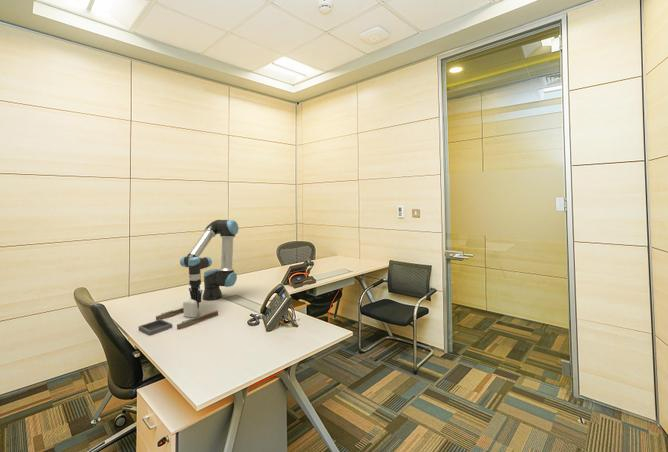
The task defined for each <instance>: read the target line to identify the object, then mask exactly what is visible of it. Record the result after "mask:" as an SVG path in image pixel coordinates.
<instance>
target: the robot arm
mask: <svg viewBox="0 0 668 452" xmlns="http://www.w3.org/2000/svg"><path fill="white" fill-rule="evenodd" d="M238 232H239V225H238V222H237V221H235V220H233V219H216V220H215V219H214V221H212V222H210V223H209V224H208V225H206V227H205V228H204V230H203V233H202V235H201V236H200V238H199V239H198V240H197V242H196V243H195V244H194V246H193V247H192V249H191V250H190V251H189V252H188V253H187V255H186V256H182V257H181V258H180V260H179V264H180V266H181V267H184V268H188V277H189V279H188V281H189V282H188V283H189V286H190V287H189V288H188V291H189V295H190V299H193V300H195V301H197V305H198V313H199V312H200V303H202V300H205V301H215V300H219V299H221V298H222V297H223V292H222V290H221V288H220V287H226V288H227V287H228V288H231V287H233V286H234V285H235V284H236V282H237V278H238V275H237V273H236V272H235V269H234V268H233V254H234V238H235V237H236V235H237V234H238ZM217 235H219V237H220V238H221V259H220V260H221V263H220V268H214V269H213V268H212V269H209V270H206V271H204V272H203V283H204V285H203V286H204V290H203V289H201V284H202V276H201V270H204V269H207V268H208V267H211V266H212V263H213V259H212V258H211V257H209V256H204V257H200V256H201V254H202V253H203V252H204V250H205V249H206V247H207V246H208V244H209V243H210V242H211V240H212V239H213V238H215V237H216V236H217Z"/></svg>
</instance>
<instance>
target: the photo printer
mask: <svg viewBox="0 0 668 452" xmlns="http://www.w3.org/2000/svg"><path fill="white" fill-rule="evenodd" d="M182 305H183V306H182V308H183V310H184V313H183V316H184V318H186V317H187V318H197V317H199V312H198V305H197V301H195V300H193V299H191V298H187V299H184V300H183V302H182Z"/></svg>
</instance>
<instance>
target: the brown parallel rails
mask: <svg viewBox="0 0 668 452" xmlns="http://www.w3.org/2000/svg"><path fill="white" fill-rule="evenodd" d="M180 314H184V310H183V307H182V308H178V309H176V310H168V311H165V312H162V313H160V314H158V315H155V321H157V320H160V319H161V320H164V319H165V320H166V319H168V318H170V317H174V316H176V315H177V316H178V315H180ZM216 316H219V310H215V311H212V312H208V313H206V314H203V315H201V316H198V317H196V318H193V317H190V318H189V319H185V320H182V321H181V322H180V323H177V324H176V330H178V329H179V330H181V328H182V329H184V328H187V327H190V326H192V325H196V324H198V323H200V322H203V321H206V320H208V319H211V318H214V317H216Z"/></svg>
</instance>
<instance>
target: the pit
mask: <svg viewBox="0 0 668 452" xmlns="http://www.w3.org/2000/svg"><path fill="white" fill-rule="evenodd" d="M137 328H138V331H140V332H142V333H144V334H147V335H148V336H153V335H155V334H159V333H161V332H164V331H166V330H170V329H172V328H173V323H171V322H169V321H167V320H166V321H165V320H164V319H162V320H161V319H160V320H157V321H156V320H154V321H151V322H148V323H144V324H142V325H138V327H137ZM169 328H170V329H169Z"/></svg>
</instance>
